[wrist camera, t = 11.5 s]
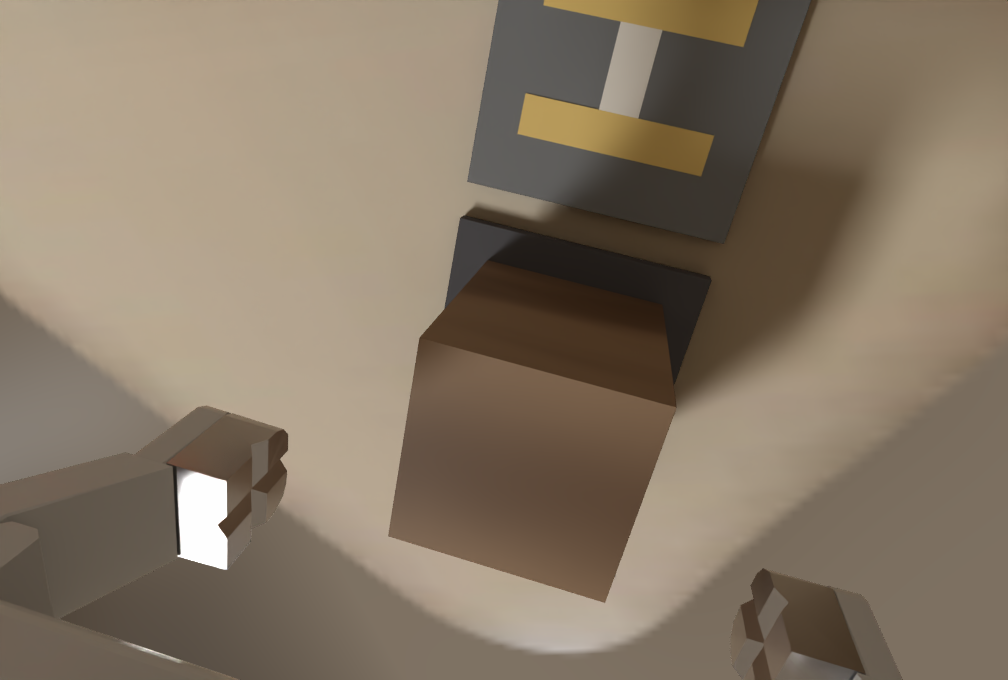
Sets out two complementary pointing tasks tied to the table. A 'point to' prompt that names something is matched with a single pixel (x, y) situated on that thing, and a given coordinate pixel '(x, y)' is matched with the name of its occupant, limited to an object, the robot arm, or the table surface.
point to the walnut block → (534, 427)
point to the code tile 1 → (633, 104)
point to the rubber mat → (584, 273)
